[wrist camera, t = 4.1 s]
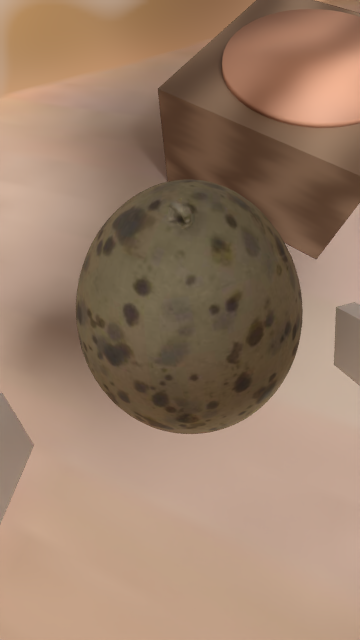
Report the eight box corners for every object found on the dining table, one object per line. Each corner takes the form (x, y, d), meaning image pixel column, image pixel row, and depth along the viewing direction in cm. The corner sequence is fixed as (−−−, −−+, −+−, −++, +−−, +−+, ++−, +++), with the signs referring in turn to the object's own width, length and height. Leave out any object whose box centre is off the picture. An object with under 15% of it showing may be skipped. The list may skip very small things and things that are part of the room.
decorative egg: (227, 274, 23) (280, 46, 9) (286, 397, 19) (531, 339, 5) (105, 315, 22) (-45, 136, 8) (143, 452, 19) (-10, 554, 5)
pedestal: (389, 146, 27) (469, 35, 19) (316, 259, 23) (379, 176, 15) (251, 92, 31) (271, -20, 23) (167, 180, 27) (157, 82, 19)
